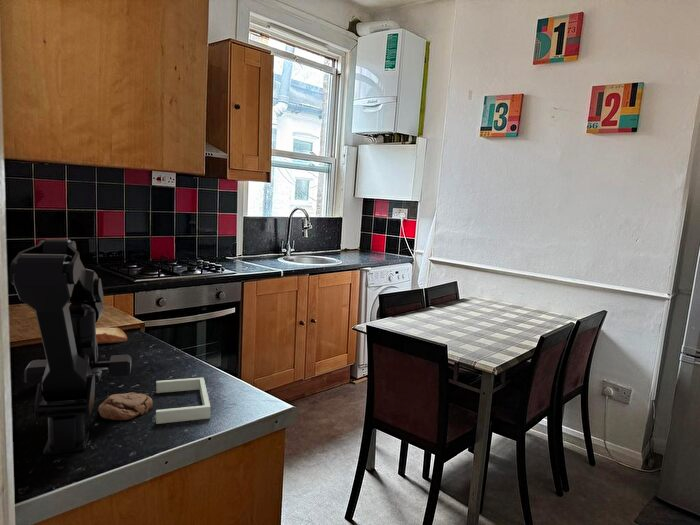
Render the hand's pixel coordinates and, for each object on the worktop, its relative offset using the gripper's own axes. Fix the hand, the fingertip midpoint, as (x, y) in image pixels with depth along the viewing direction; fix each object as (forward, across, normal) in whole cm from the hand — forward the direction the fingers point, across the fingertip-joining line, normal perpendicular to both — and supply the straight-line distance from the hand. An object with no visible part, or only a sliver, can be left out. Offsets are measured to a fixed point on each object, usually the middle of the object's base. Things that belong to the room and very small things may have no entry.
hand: (81, 408), depth 103 cm
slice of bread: (+2, +4, -54) cm, 54 cm away
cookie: (+2, -8, 0) cm, 8 cm away
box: (+1, -19, 0) cm, 19 cm away
